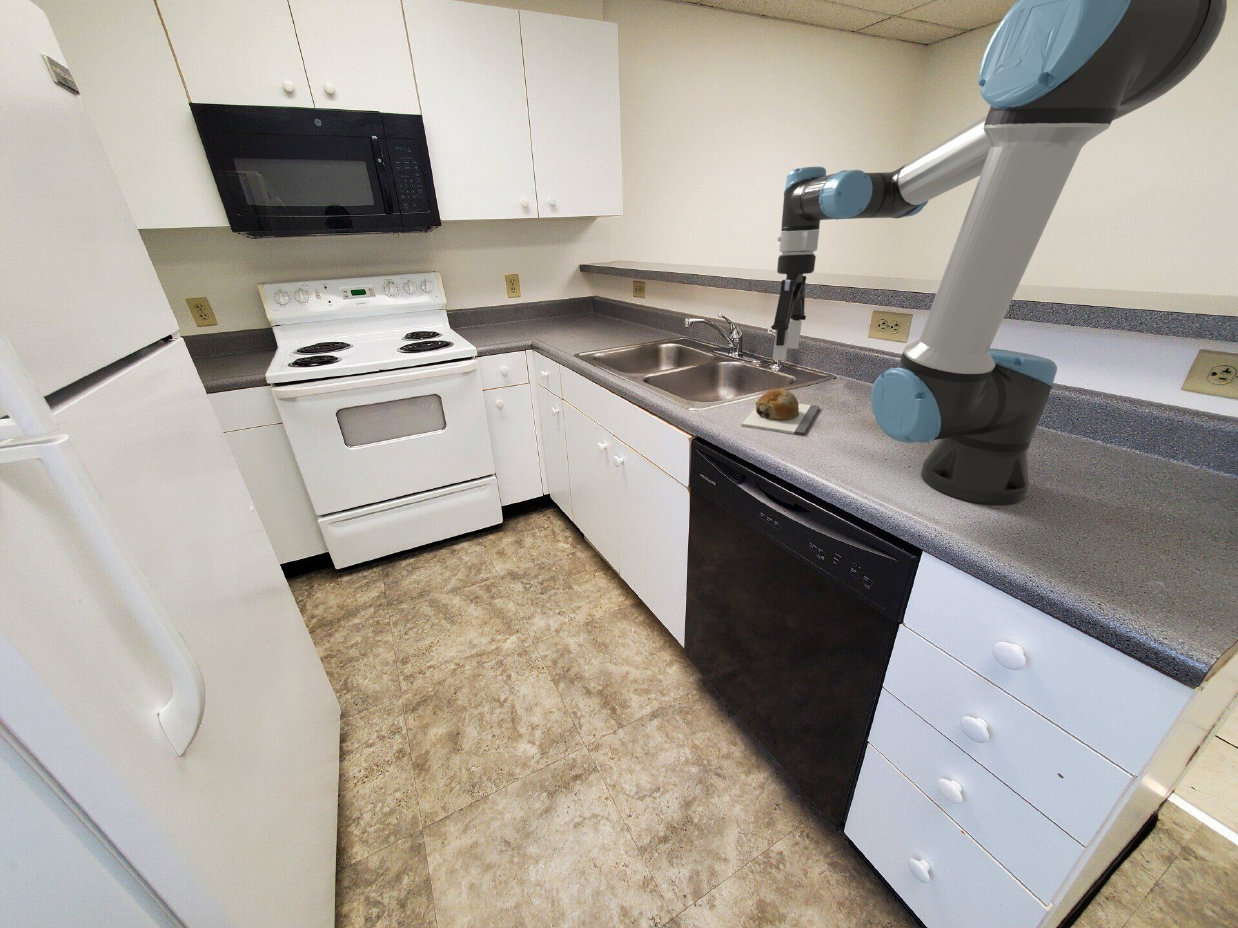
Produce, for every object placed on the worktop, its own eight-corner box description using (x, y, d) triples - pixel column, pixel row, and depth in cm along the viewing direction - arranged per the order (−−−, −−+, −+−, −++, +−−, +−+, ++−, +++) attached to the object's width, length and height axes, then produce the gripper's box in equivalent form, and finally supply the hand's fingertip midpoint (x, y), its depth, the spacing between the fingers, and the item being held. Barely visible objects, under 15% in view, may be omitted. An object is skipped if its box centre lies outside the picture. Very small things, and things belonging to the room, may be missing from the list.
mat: (803, 435, 105) (803, 432, 105) (741, 425, 112) (741, 423, 111) (818, 408, 121) (819, 405, 120) (763, 401, 127) (763, 398, 127)
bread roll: (794, 435, 113) (813, 405, 110) (756, 418, 112) (775, 388, 108) (782, 420, 122) (799, 393, 119) (747, 405, 120) (763, 376, 117)
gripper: (791, 252, 112) (781, 343, 121) (764, 256, 93) (755, 364, 102) (825, 251, 109) (812, 345, 118) (804, 255, 89) (791, 367, 98)
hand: (786, 354), depth 110 cm, fingers open, 13 cm apart
